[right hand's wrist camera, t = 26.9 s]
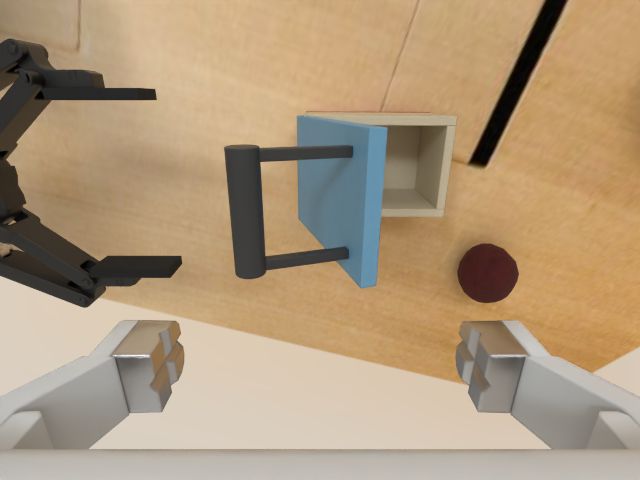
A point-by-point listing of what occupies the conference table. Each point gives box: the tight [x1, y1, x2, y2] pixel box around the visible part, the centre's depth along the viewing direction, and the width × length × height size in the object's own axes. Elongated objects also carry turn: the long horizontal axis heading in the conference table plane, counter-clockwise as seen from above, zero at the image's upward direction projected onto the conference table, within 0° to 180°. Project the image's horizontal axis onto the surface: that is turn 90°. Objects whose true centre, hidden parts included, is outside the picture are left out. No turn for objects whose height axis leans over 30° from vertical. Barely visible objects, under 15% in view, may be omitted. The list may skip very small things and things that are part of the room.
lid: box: [224, 116, 387, 288], centre depth 27 cm, size 15×10×9 cm
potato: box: [458, 244, 519, 303], centre depth 47 cm, size 7×8×7 cm
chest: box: [303, 112, 457, 217], centre depth 40 cm, size 15×10×10 cm
